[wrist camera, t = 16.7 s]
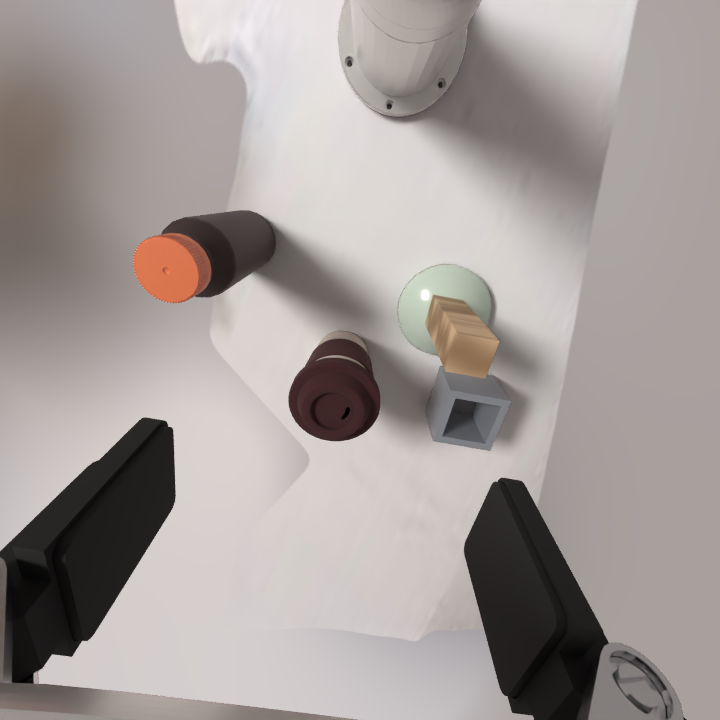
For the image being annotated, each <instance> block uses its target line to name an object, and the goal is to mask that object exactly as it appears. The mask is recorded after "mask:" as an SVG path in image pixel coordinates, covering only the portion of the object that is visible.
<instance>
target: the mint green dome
mask: <svg viewBox="0 0 720 720" xmlns="http://www.w3.org/2000/svg"><path fill="white" fill-rule="evenodd" d="M433 295H438V296H443V297H449V298H454V299H459V300H464V302H465V303H466V304H467V305H468V306H469V307H470V308H471V309H472V311H473V312H474V313H475V314H476V315H477V316H478V317H479V318H480V319H481V321H482V322H483V323H484V324H485V325H486V326H487V324H488V322H489V319H490V315H491V297H490V294H489V291H488V289H487V287H486V285H485V284H484V282H483V281H482V280H481V279H480V278H479V277H478V276H477V275H476V274H475V273H473V272H472V271H470V270H469V269H467V268H464V267H462V266H459V265H453V264H441V265H436V266H432V267H429V268H427V269H425V270H423V271H421V272H420V273H418V274H417V275H415V276H414V277H413V278H412V279H411V280H410V281H409V282H408V284H407V285H406V286H405V288H404V290H403V292H402V294H401V296H400V299H399V303H398V320H399V324H400V328H401V330H402V333H403V334H404V336H405V337H406V339H407V340H408V341H409V342H410V343H411V344H412V345H413V346H414V347H416V348H417V349H419V350H421V351H423V352H426V353H430V354H435V355H438V353H437V351H436V348H435V346H434V344H433V341H432V339H431V337H430V334H429V332H428V330H427V328H426V325H425V322H426V318H427V314H428V311H429V307H430V304H431V300H432V296H433Z"/></svg>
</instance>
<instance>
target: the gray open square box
mask: <svg viewBox="0 0 720 720" xmlns="http://www.w3.org/2000/svg"><path fill="white" fill-rule="evenodd" d="M456 398H457V399H462V400H468V401H473V402H476V405H475V408H474V410H473V413H472V415H471V414H465V413H460V412H454V411H451V410H452V407H453V405H454V402H455V399H456ZM511 402H512V401H511V400H510V398H509V397H508V395H507V394H506V392H505V391H504V390H503V388H502V387H501V385H500V384H499V382H498V381H497V379H496V378H495V376H493V375H487V376H486V379H485V378H479V377H473V376H468V375H462V374H456V373H451V372H446V371H445V369H444V367H443V366H440V368H439V371H438V374H437V377H436V381H435V384H434V387H433V390H432V393H431V396H430V399H429V402H428V405H427V409H426V412H425V413H426V417H427V420H428V424H429V428H430V432H431V436H432V440H433V441H436V442H442V443H447V444H453V445H459V446H465V447H470V448H476V449H482V450H488V451H490V450H491V447H492V445H493V443H494V441H495V438H496V436H497V434H498V431H499V429H500V427H501V424H502V422H503V420H504V418H505V415H506V413H507V411H508V408H509V406H510V404H511Z"/></svg>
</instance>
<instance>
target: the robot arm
mask: <svg viewBox="0 0 720 720" xmlns="http://www.w3.org/2000/svg"><path fill="white" fill-rule="evenodd" d="M481 1H482V0H345V1H344V4H343V6H342V10H341V15H340V20H339V30H338V44H339V55H340V59H341V64H342V67H343V70H344V73H345V76H346V79H347V80H348V82H349V84H350V86H351V88H352V90H353V91H354V92H355V94H356V95H357V96H358V97H359V99H360V100H361V101H362V102H364V103H365V104H366V105H367V106H368V107H369V108H371V109H373V110H375V111H377V112H378V113H381V114H384V115H388V116H396V117H403V116H409V115H414V114H416V113H418V112H421V111H423V110H425V109H426V108H428V107H429V106H431V105H432V104H434V103H435V102H436V101H437V100H438V99H439V98H440V97H441V96H442V95H443V94H444V93H445V91H446V90H447V89H448V88H449V86H450V84H451V83H452V81H453V80H454V78H455V76H456V75H457V72H458V70H459V67H460V65H461V62H462V59H463V55H464V51H465V47H466V40H467V25H468V23H469V22H470V20H471V18H472V17H473V15H474V13H475V11H476V10H477V8H478V6H479V4H480V2H481ZM348 62H352V66H351V67H349V66H348V65H347V64H348ZM438 83H442V88H439V87H438ZM388 104H391V106H392V108H391V109H388V108H387V105H388ZM175 496H176V495H175V466H174V439H173V429H172V428H171V427H168V424H167V422H166V421H163V420H157V419H151V418H142V419H141V420H139V421H138V422H137V423H136V424H135V425H134V426H133V427H132V428H131V429H130V430H129V431H128V432H127V433H126V434H125V435H124V436H123V437H122V438H121V439H120V440H119V441H118V442H117V443H116V444H115V445H114V446H113V447H112V448H111V449H110V450H109V451H108V452H107V453H106V454H105V455H104V456H103V457H102V458H101V459H100V460H99V461H96V462H94V463H92V464H91V465H89V466H88V467H87V468H86V469H85V470H84V471H83V472H82V473H81V474H80V475H79V476H78V477H77V478H75V479H74V480H73V481H72V482H71V483H70V484H69V485H68V486H67V487H66V488H65V489H64V490H63V491H62V492H61V493H60V494H59V495H58V496H57V497H56V498H55V499H54V500H53V501H52V502H51V503H50V504H49V505H48V506H47V507H46V508H45V509H44V510H43V511H41V512H40V513H39V515H37V516H36V517H35V518H34V519H33V520H32V521H31V522H30V523H29V524H28V525H27V526H26V527H25V528H24V529H23V530H22V531H21V532H20V533H19V534H18V535H17V536H16V537H15V538H14V539H13V540H12V541H11V542H9V543H8V544H7V545H6V546H5V547H4V548H3V549H2V550H1V551H0V720H356V719H348V718H340V717H332V716H323V715H315V714H308V713H298V712H291V711H283V710H274V709H266V708H258V707H250V706H242V705H234V704H224V703H216V702H208V701H199V700H190V699H182V698H174V697H165V696H157V695H148V694H140V693H130V692H122V691H111V690H101V689H91V688H79V687H70V686H69V687H68V686H59V685H49V684H39V679H38V678H39V677H38V671H39V670H40V669H42V668H43V666H44V665H45V664H46V662H47V661H48V659H49V658H50V656H51V655H52V654H55V655H63V656H70V657H72V656H73V654H74V653H75V651H76V649H77V648H78V646H79V645H80V643H81V642H82V641H87V640H89V639H90V638H91V637H92V636H93V635H94V633H95V632H96V630H97V628H98V627H99V625H100V624H101V622H102V621H103V619H104V617H105V616H106V614H107V612H108V611H109V609H110V608H111V606H112V605H113V603H114V601H115V600H116V598H117V597H118V595H119V593H120V592H121V590H122V588H123V587H124V585H125V584H126V582H127V581H128V579H129V577H130V576H131V574H132V572H133V571H134V569H135V568H136V566H137V564H138V563H139V561H140V560H141V558H142V556H143V555H144V553H145V552H146V550H147V548H148V547H149V545H150V544H151V542H152V540H153V539H154V537H155V536H156V534H157V532H158V531H159V529H160V528H161V526H162V524H163V523H164V521H165V520H166V518H167V516H168V515H169V513H170V512H171V510H172V508H173V505H174V502H175ZM464 554H465V558H466V562H467V566H468V570H469V574H470V577H471V581H472V585H473V589H474V592H475V596H476V600H477V604H478V607H479V611H480V615H481V619H482V622H483V626H484V630H485V634H486V637H487V641H488V645H489V648H490V653H491V656H492V660H493V664H494V667H495V671H496V675H497V679H498V683H499V686H500V689H501V691H502V693H503V694H504V695H505V696H508V699H509V703H510V707H511V710H512V713H517V714H525V715H533V717H534V720H686V719H685V718H684V717H683V712H682V706H681V703H680V701H679V699H678V696H677V694H676V692H675V690H674V689H673V687H672V686H671V684H670V683H669V681H668V680H667V678H666V677H665V676H664V675H663V673H662V672H661V671H660V670H659V669H658V668H657V667H656V666H655V664H653V663H652V662H651V661H650V660H649V659H648V658H646V657H645V656H644V655H643V654H641V653H640V652H638V651H637V650H635V649H633V648H632V647H630V646H627V645H624V644H622V643H609V642H608V641H607V639H606V637H605V635H604V633H603V630H602V628H601V626H600V624H599V622H598V620H597V619H596V617H595V615H594V613H593V611H592V609H591V607H590V605H589V604H588V602H587V600H586V598H585V596H584V595H583V593H582V591H581V589H580V587H579V585H578V583H577V581H576V579H575V578H574V576H573V574H572V572H571V570H570V568H569V566H568V564H567V563H566V561H565V559H564V557H563V555H562V553H561V551H560V550H559V548H558V546H557V544H556V542H555V540H554V538H553V537H552V535H551V533H550V531H549V529H548V527H547V525H546V523H545V522H544V520H543V518H542V516H541V514H540V512H539V510H538V509H537V507H536V505H535V503H534V501H533V499H532V497H531V496H530V494H529V492H528V490H527V488H526V486H525V485H524V483H523V482H522V481H519V480H513V479H507V478H500V479H499V480H498V482H493V484H492V485H491V487H490V490H489V492H488V494H487V496H486V498H485V500H484V503H483V505H482V507H481V509H480V511H479V513H478V516H477V518H476V520H475V522H474V524H473V526H472V529H471V531H470V533H469V535H468V537H467V539H466V542H465V546H464Z"/></svg>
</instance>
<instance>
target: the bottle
mask: <svg viewBox="0 0 720 720" xmlns="http://www.w3.org/2000/svg"><path fill="white" fill-rule="evenodd" d="M274 249H275V235H274V233H273V230H272V228H271V226H270V225H269V223H268V222H267V221H266V220H265V219H264V218H263V217H262V216H260V215H259V214H257V213H254V212H252V211H242V210H240V211H232V212H224V213H216V214H210V215H209V214H208V215H200V216H193V217H185V218H182V219H179V220H176V221H173V222H172V223H171V224H170V225H168V226H167V227H166V228H165V229H164V230H163V232H162V234H161V235H158V236H153V237H149V238H148V239H146V240H144V241H143V242H142V243H141V244H140V245H139V247H138V248H137V250H135V251H136V252H135V255H134V261H133V262H134V270H135V273H136V276H137V279H138V280H139V281H140V284H141V285H142V287H144V289H146V291H148V292H149V293H150V294H151V295H153V296H154V297H156V298H158V299H159V300H162V301H164V302H165V301H167V302H170V303H172V302H173V303H177V302H178V303H179V302H184V301H187V300H189V299H190V298H192V297H194V296H195V297H212V296H215V295H218V294H221V293H223V292H224V291H226V290H227V289H229V288H230V287H232V286H233V285H234V284H236V283H237V282H239V281H240V280H242V279H243V278H245V277H246V276H248V275H249V274H251V273H252V272H254V271H255V270H257V269H258V268H260V267H261V266H263V265H264V264H265V263H267V262H268V261H269V260H270V258H271V257H272V255H273V254H274Z"/></svg>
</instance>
